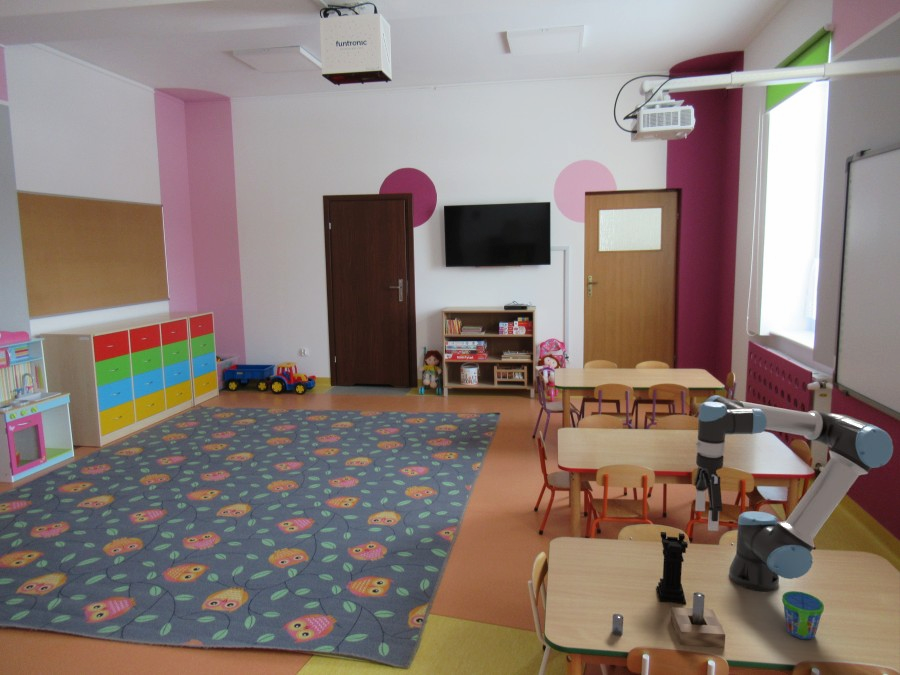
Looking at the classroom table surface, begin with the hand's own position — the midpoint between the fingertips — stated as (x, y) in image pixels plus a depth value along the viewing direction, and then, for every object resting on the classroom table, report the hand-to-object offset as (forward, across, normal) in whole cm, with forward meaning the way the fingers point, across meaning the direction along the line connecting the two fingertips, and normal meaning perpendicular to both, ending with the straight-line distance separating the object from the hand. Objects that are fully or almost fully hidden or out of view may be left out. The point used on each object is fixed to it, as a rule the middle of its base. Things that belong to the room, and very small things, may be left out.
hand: (706, 520), depth 194 cm
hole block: (+29, +14, -5) cm, 32 cm away
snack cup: (+29, +11, +25) cm, 40 cm away
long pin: (+29, +14, -5) cm, 32 cm away
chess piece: (+29, -5, -8) cm, 30 cm away
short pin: (+29, +16, -28) cm, 43 cm away
